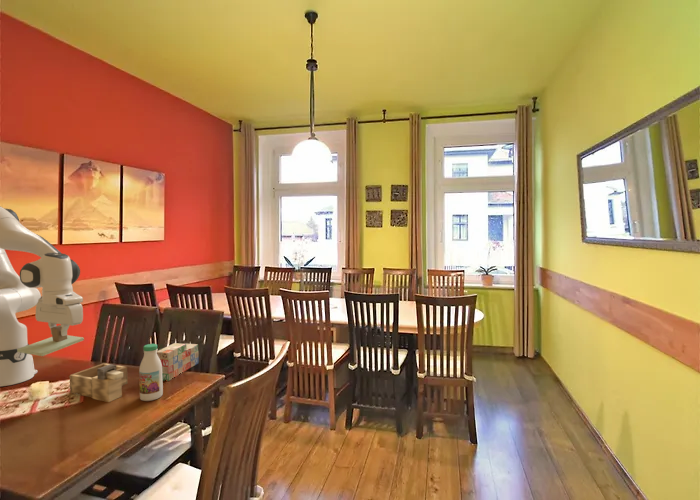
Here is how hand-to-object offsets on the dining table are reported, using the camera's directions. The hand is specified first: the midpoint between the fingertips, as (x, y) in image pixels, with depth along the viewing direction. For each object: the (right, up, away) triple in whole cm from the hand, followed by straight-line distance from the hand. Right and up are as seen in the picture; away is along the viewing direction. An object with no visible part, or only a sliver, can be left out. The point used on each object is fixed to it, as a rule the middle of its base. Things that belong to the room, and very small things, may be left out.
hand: (59, 335), depth 134 cm
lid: (-1, -3, -2) cm, 4 cm away
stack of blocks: (+29, -24, +31) cm, 49 cm away
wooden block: (+17, -17, +3) cm, 24 cm away
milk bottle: (+31, -25, +5) cm, 40 cm away
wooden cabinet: (+10, -24, +11) cm, 29 cm away
